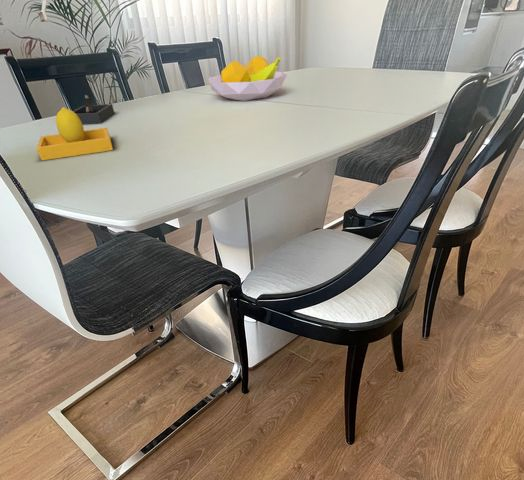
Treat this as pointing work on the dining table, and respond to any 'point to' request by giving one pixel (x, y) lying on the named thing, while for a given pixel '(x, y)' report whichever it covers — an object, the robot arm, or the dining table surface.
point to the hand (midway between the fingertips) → (22, 23)
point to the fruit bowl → (248, 80)
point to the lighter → (88, 105)
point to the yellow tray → (74, 145)
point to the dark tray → (95, 113)
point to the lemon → (69, 125)
